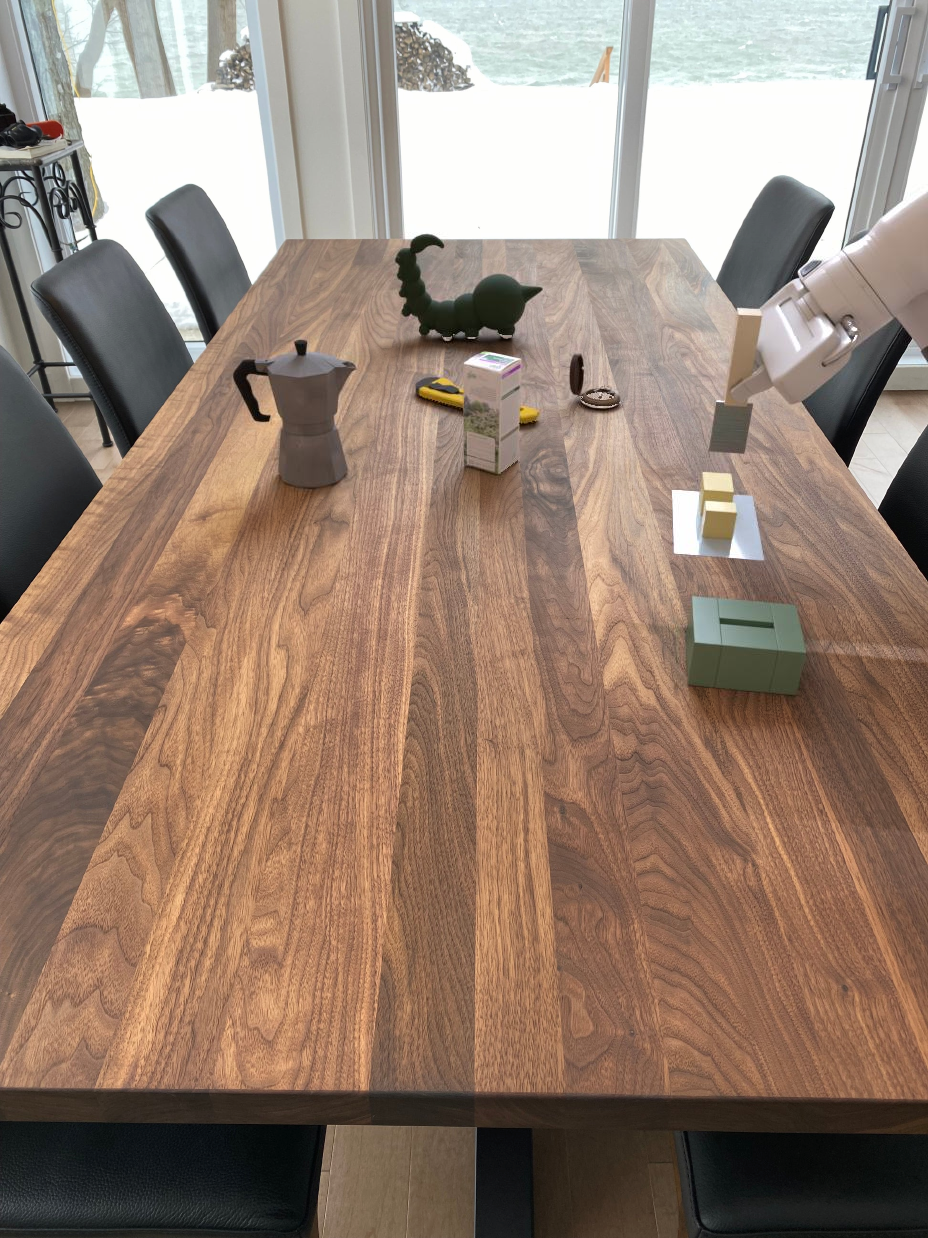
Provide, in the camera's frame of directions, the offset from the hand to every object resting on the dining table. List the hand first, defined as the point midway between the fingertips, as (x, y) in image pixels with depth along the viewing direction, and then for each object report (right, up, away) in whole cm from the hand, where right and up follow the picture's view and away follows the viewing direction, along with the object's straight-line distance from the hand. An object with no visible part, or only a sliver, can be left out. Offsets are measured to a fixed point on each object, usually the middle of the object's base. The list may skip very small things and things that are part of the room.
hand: (731, 390), depth 107 cm
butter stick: (+1, -12, +12) cm, 17 cm away
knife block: (-3, -30, -12) cm, 32 cm away
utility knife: (-28, +7, +42) cm, 51 cm away
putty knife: (+1, -6, +4) cm, 7 cm away
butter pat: (0, -15, +7) cm, 17 cm away
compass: (-9, +8, +44) cm, 45 cm away
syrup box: (-26, -4, +25) cm, 36 cm away
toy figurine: (-28, +25, +68) cm, 78 cm away
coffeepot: (-51, -6, +22) cm, 56 cm away
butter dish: (+1, -15, +10) cm, 17 cm away
